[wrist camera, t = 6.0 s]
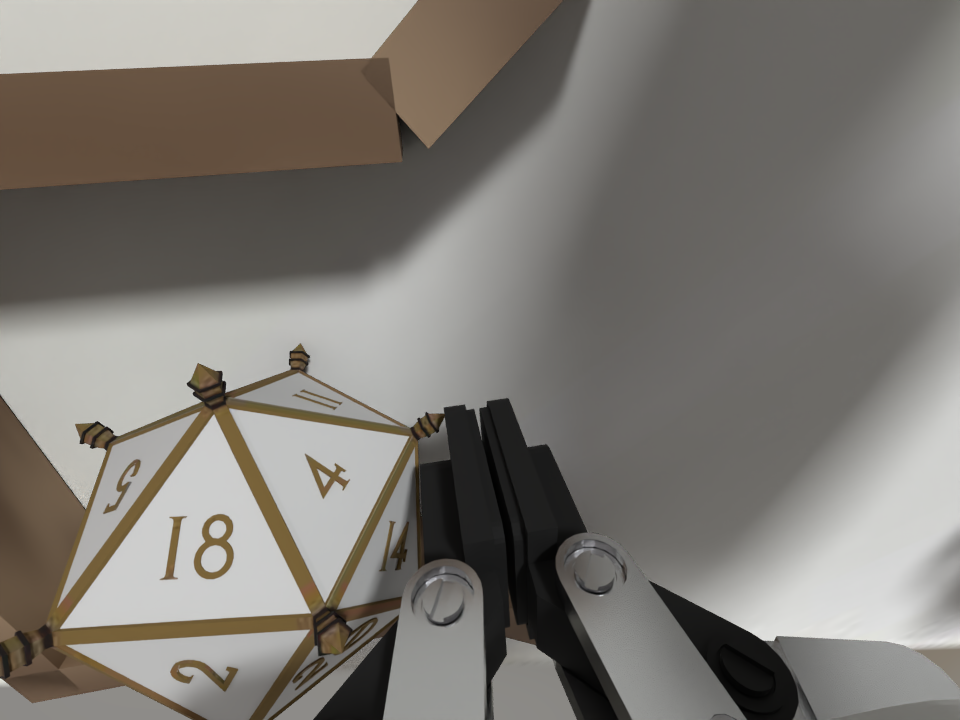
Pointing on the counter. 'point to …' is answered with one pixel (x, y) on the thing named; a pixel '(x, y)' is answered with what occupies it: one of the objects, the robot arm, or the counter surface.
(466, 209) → the counter surface
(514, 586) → the robot arm
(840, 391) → the counter surface
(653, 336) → the counter surface
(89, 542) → the game die
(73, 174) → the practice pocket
